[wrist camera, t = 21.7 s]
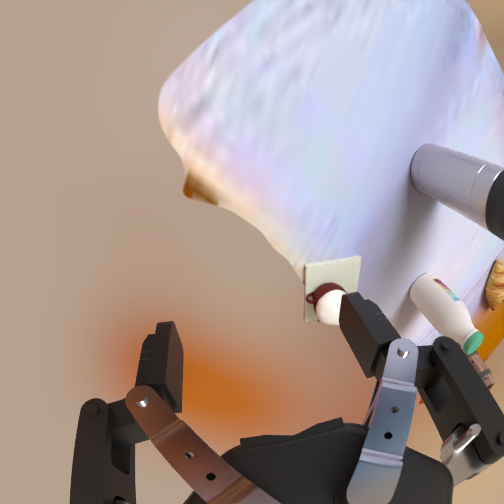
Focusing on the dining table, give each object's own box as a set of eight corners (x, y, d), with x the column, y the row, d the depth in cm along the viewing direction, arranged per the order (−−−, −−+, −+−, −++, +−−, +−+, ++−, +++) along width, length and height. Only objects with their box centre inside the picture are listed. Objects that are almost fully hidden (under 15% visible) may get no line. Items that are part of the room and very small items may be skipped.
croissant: (482, 256, 58) (490, 276, 52) (509, 248, 53) (518, 267, 47) (479, 304, 68) (484, 322, 62) (503, 296, 62) (509, 315, 56)
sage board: (358, 255, 46) (361, 258, 45) (351, 308, 52) (353, 311, 51) (304, 264, 45) (306, 267, 45) (303, 318, 51) (305, 322, 50)
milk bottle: (409, 306, 55) (458, 368, 38) (407, 282, 52) (464, 346, 34) (434, 290, 55) (485, 346, 37) (434, 265, 51) (493, 322, 33)
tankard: (475, 342, 74) (503, 377, 57) (445, 374, 79) (469, 411, 61) (463, 324, 65) (499, 366, 48) (426, 362, 70) (456, 408, 52)
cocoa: (296, 294, 47) (314, 344, 37) (321, 267, 45) (346, 314, 35) (333, 314, 51) (354, 362, 40) (356, 291, 48) (383, 336, 38)
